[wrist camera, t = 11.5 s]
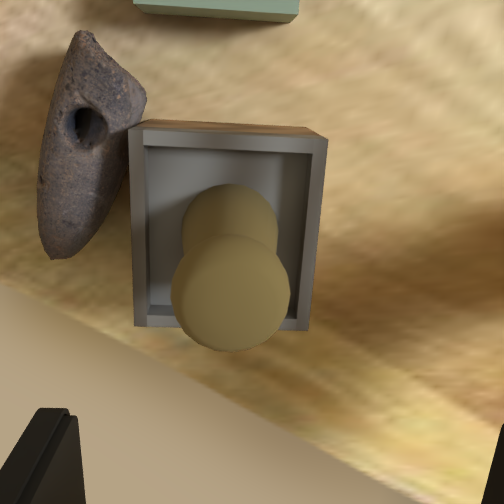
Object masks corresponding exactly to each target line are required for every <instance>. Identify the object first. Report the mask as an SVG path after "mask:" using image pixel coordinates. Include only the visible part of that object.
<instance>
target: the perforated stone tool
mask: <svg viewBox="0 0 504 504" xmlns="http://www.w3.org/2000/svg"><path fill="white" fill-rule="evenodd" d="M146 102H147V97H146V92H145V90H144V88H143V87H142V86H141V84H140V83H139V81H138V80H136V79H135V78H134V77H133V76H132V75H131V74H130V73H129V72H128V71H126V70H124V69H123V68H122V67H121V66H119V64H118V63H117V62H116V61H115V60H114V59H113V58H112V57H110V56H109V55H107V53H106V52H105V51H104V50H103V48H101V46H100V45H99V43H98V42H97V41H96V40H95V37H94V34H93V33H91V32H88V30H86V31H81V30H80V31H78V32H76V33H75V35H74V37H73V38H72V41H71V43H70V46H69V48H68V51H67V53H66V56H65V59H64V62H63V65H62V67H61V70H60V74H59V77H58V80H57V83H56V86H55V90H54V94H53V97H52V100H51V104H50V109H49V113H48V117H47V122H46V127H45V131H44V135H43V141H42V146H41V152H40V160H39V170H38V182H37V218H38V228H39V235H40V238H41V242H42V244H43V247H44V250H45V252H46V253H47V254H48V256H49V257H50V260H55V259H67V258H70V257H72V256H74V255H75V254H76V253H78V252H79V251H80V250H81V249H82V248H83V247H84V246H85V245H86V244H87V243H88V242H89V241H90V239H91V238H92V237H93V235H94V234H95V233H96V231H97V230H98V229H99V227H100V226H101V224H102V223H103V221H104V220H105V218H106V216H107V214H108V212H109V210H110V208H111V206H112V204H113V201H114V199H115V197H116V195H117V192H118V190H119V187H120V185H121V182H122V180H123V177H124V174H125V171H126V168H127V166H128V163H129V141H128V129H130V128H132V127H135V126H137V125H138V124H139V122H140V120H141V118H142V114H143V112H144V109H145V105H146Z"/></svg>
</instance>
